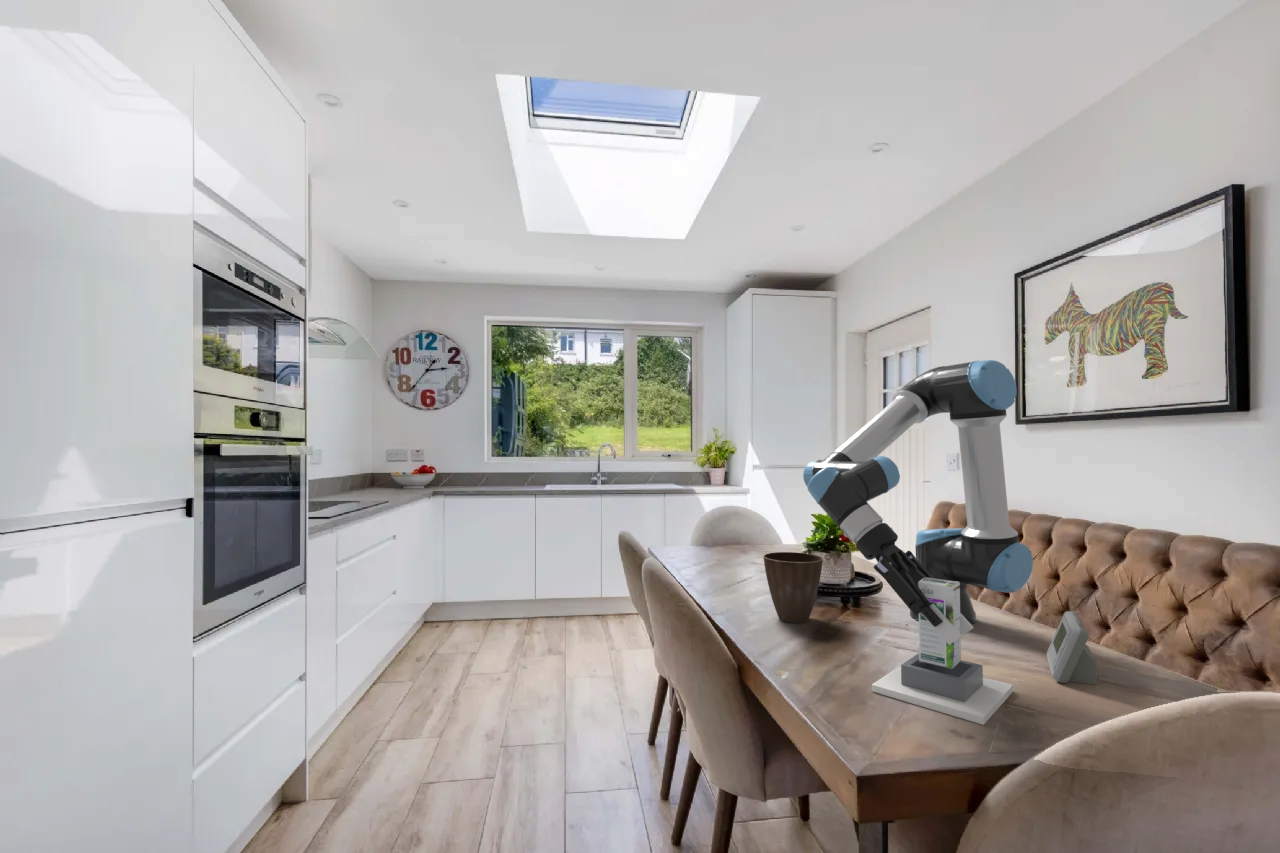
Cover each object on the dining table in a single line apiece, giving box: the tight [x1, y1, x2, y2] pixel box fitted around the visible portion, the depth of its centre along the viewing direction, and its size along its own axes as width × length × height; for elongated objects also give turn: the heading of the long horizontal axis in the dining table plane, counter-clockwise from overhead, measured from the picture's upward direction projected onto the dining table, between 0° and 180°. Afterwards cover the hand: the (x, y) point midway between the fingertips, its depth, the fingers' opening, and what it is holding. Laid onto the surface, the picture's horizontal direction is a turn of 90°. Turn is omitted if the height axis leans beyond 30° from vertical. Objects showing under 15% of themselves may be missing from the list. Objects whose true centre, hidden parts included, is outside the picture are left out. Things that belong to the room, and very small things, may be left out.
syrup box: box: [918, 578, 962, 669], centre depth 105 cm, size 6×6×14 cm
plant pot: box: [762, 551, 824, 624], centre depth 149 cm, size 15×15×16 cm
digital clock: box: [1046, 610, 1098, 685], centre depth 113 cm, size 16×9×11 cm, turn 137°
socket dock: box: [871, 652, 1014, 726], centre depth 104 cm, size 18×18×5 cm
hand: (961, 636), depth 102 cm, fingers closed on syrup box, 6 cm apart
